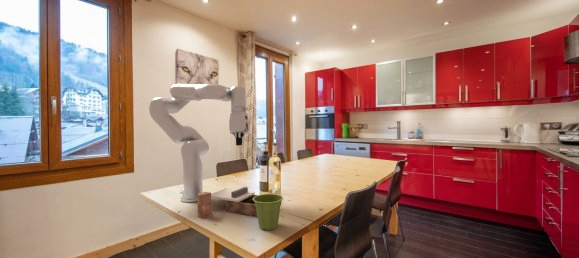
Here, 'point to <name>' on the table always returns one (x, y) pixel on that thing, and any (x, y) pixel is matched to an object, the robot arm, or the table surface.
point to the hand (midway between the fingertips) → (239, 145)
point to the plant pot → (268, 210)
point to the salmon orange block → (204, 204)
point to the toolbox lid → (233, 194)
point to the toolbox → (242, 207)
